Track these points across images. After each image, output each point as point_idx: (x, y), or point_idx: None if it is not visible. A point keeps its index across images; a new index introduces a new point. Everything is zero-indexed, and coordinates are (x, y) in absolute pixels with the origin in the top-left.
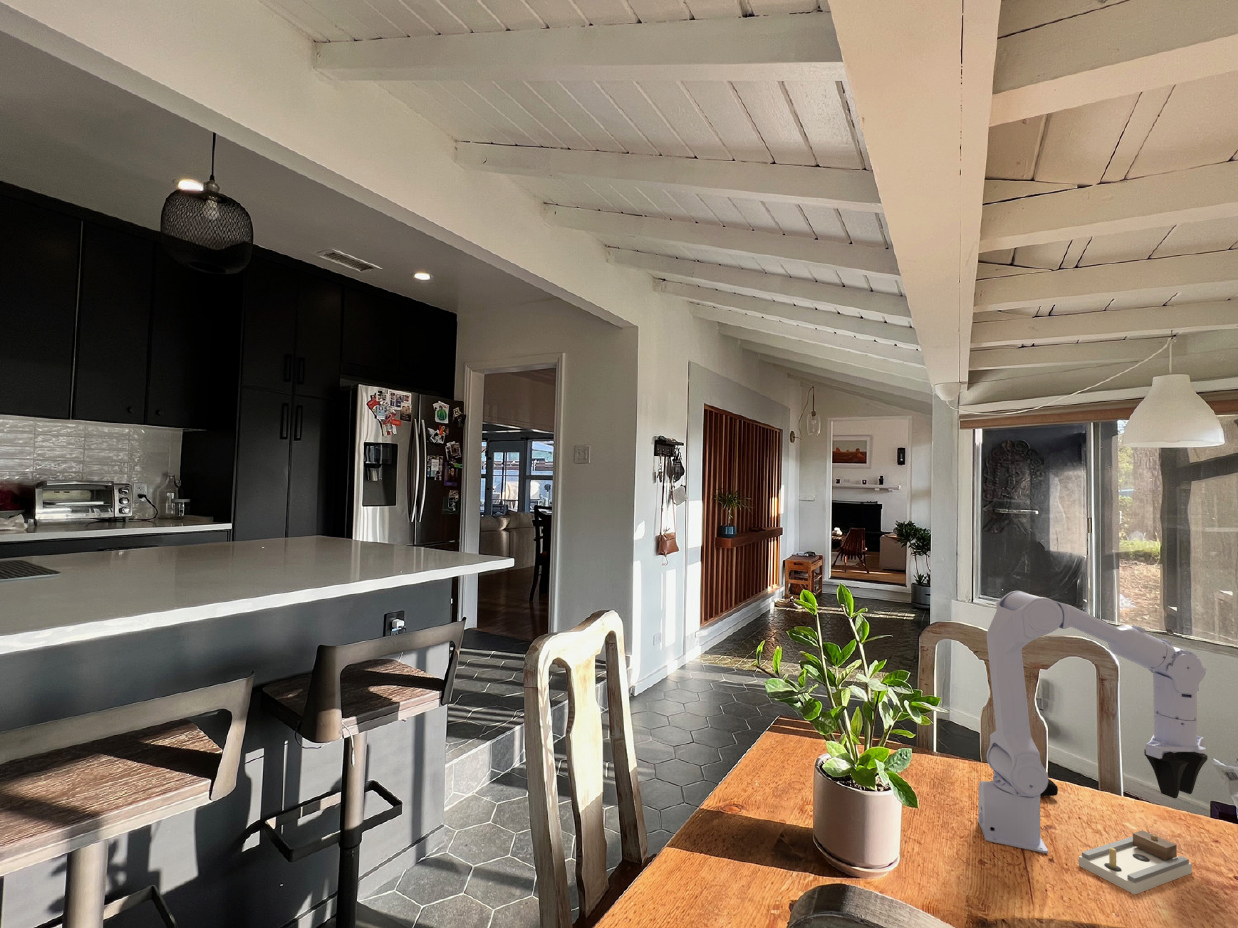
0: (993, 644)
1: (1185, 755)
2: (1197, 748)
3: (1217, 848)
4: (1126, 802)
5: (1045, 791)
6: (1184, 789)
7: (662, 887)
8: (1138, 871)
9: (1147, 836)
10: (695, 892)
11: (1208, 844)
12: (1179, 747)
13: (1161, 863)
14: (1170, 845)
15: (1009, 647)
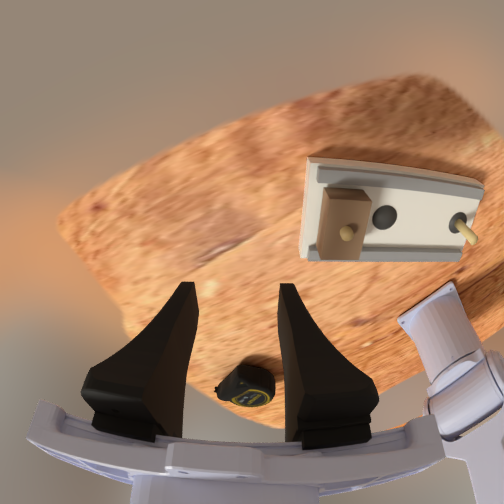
0: None
1: (164, 412)
2: (251, 477)
3: (124, 190)
4: (126, 322)
5: (257, 373)
6: (195, 300)
7: None
8: (460, 195)
9: (346, 242)
10: None
11: (126, 204)
12: (347, 476)
13: (396, 187)
14: (347, 203)
15: None
